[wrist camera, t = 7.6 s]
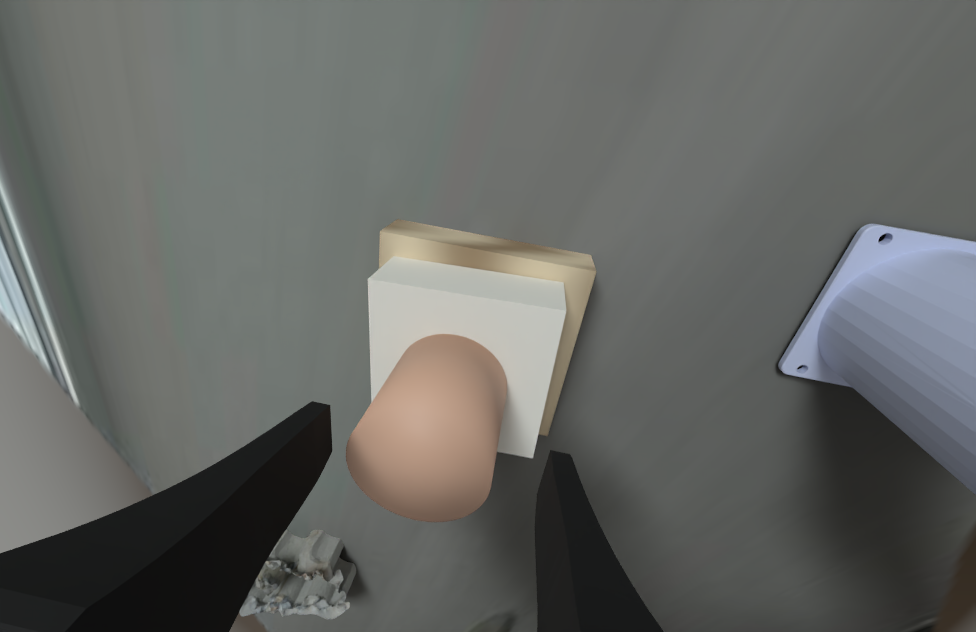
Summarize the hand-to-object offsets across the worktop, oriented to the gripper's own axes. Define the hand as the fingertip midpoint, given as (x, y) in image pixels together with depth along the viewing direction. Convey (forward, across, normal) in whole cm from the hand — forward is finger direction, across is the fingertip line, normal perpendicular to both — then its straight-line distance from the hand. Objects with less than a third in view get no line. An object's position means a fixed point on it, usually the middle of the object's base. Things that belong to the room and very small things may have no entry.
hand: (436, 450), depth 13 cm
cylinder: (+5, 0, +1) cm, 5 cm away
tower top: (+8, 0, +1) cm, 8 cm away
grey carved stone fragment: (+11, +13, +28) cm, 32 cm away
